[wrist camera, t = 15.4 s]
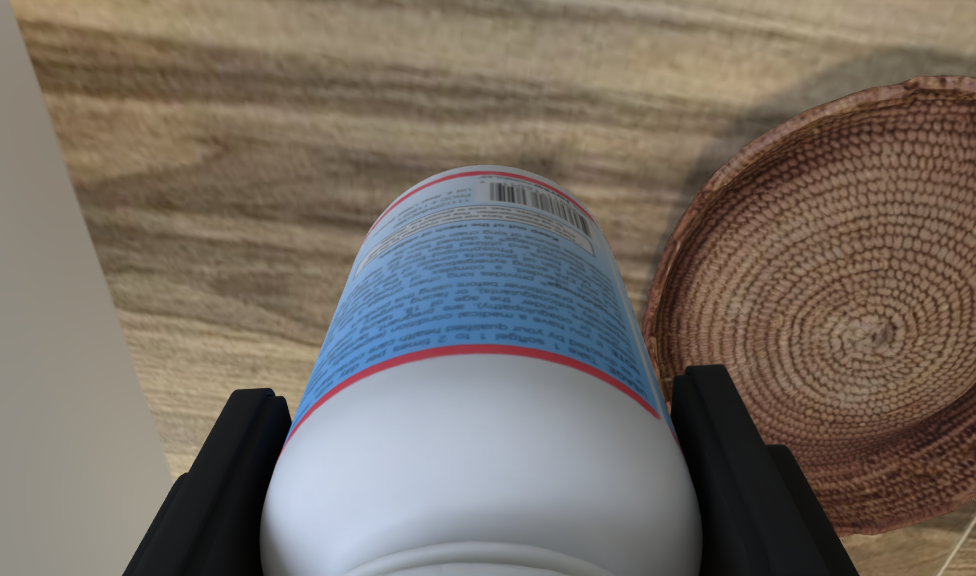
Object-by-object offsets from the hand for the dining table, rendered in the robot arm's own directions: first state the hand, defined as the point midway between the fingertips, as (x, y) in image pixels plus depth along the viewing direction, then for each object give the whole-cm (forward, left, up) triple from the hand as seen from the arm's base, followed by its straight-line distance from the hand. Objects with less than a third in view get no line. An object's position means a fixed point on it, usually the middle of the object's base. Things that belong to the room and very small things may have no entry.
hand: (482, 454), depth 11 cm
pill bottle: (0, 0, -6) cm, 6 cm away
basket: (+17, -10, -21) cm, 29 cm away
